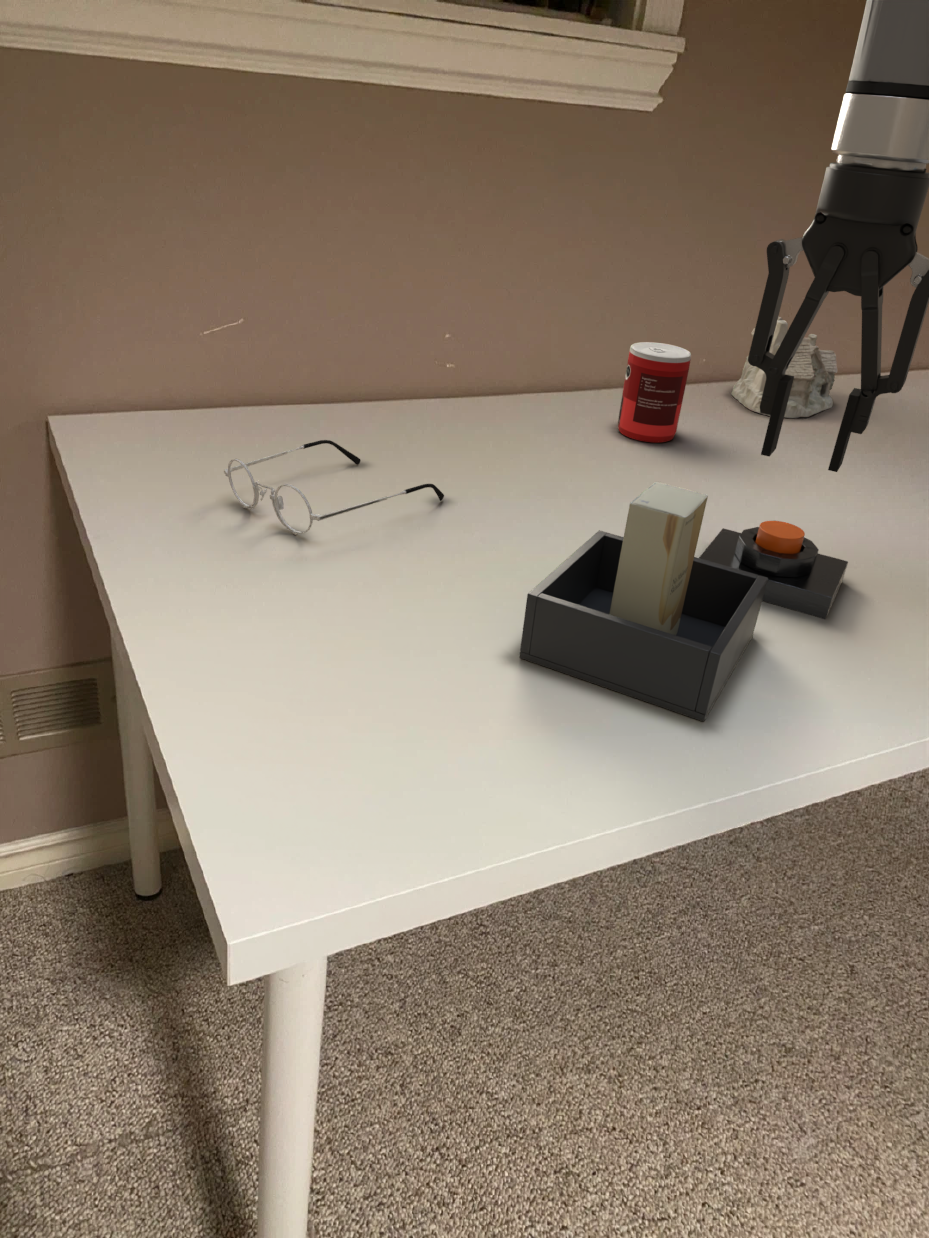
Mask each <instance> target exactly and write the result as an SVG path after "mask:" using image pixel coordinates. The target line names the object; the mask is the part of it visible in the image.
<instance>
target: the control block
mask: <svg viewBox="0 0 929 1238" xmlns="http://www.w3.org/2000/svg"><path fill="white" fill-rule="evenodd" d="M758 530H759V526H755V527H750V528H746V529H743V530H742V531H741V532H740V531H739V532H738V531H735V530H731V529H727V528H722V529H721V530H720V531H719V532H718V533H717V535H716V536H715V537H714V538H713V540H712V541H711V542H710V543H709V544H708V546H707V547H706V548H705V550H704V551H703V552H702V553H701V554H700V556H699V557H698V558H700V559H703V560H707V561H710V562H714V563H718V564H721V565H725V566H728V567H732V568H735V569H739V570H743V571H746V572H750V573H753V574H757V575H758V576H759V575H760V576H763V577H767V578H768V581H767V585H766V588H765V592H764V596H763V599H762V602H763V603H767V604H771V605H774V606H776V607H777V606H778V607H781V608H785V609H789V610H791V611H795V612H798V613H801V614H806V615H808V616H812V617H816V618H819V619H821V620H826V619H827V617H828V615H829V612H830V610H831V608H832V605H833V604H834V601H835V599H836V597H837V594H838V592H839V590H840V588H841V585H842V583H843V580H844V577H845V574H846V571H847V568H848V564H849V561H848V560H844V559H840V558H836V557H832V556H830V555H825V554H822V553H819V548H818V546H817V545H816V544H815V543H814V542H813V541H812V540H811V539H808V538H806V537H805V536H804V539H803V543H802V546H801V550H800V552H799V553H795V554H785V553H778V552H774V551H770V550H766V549H764V548H762V547H761V546H759V545H757V544H756V543H755V541H756V537H757V534H758Z"/></svg>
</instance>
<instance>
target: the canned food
mask: <svg viewBox="0 0 929 1238" xmlns="http://www.w3.org/2000/svg"><path fill="white" fill-rule="evenodd" d="M691 361H692V353H691V352H690V351H689V350H687V349H685V348H683V347H680V346H677V345H674V344H668V343H663V342H653V341H641V342H635V343H632V344H631V345H630V348H629V352H628V358H627V363H626V369H625V375H624V381H623V387H622V394H621V399H620V400H621V401H620V406H619V412H618V418H617V427H618V428H617V429H618V431H619V432H620V433H621V434H622V435H623V436H625V437H627V438H630V439H632V440H635V441H640V442H645V443H654V444H656V443H659V444H660V443H667V442H670V441H672V440H673V439H674V437H675V435H676V434H677V431H678V425H679V420H680V415H681V410H682V406H683V401H684V396H685V391H686V385H687V382H688V381H687V380H688V376H689V371H690V366H691Z"/></svg>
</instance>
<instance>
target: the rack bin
mask: <svg viewBox="0 0 929 1238" xmlns="http://www.w3.org/2000/svg"><path fill="white" fill-rule="evenodd" d="M623 538H624V536H621V535H617V534H615V533H611V532H608V531H603V530H600V529H599V530H598V531H596V532H595V533H594V534H593V535H592V536H591V537H590V538H588V539H587V540H586V541H585V542H584V543H583V544H582V545H581V546H579V547H578V548H577V549H576V550H575V551H574V552H573V553H572V554H570V555H569V556H568V557H567V558H566V559H565V560H563V562H561V563H560V564H559V565H558V566H557V567H556V568H555V569H553V570H552V571H551V572H550V573H549V574H548V575H547V576H545V578H544V579H542V580H541V581H540V582H539V583H538V584H536V586H535V587H534V588H532V589H531V590H530V591H529V592H528V593H527V595H526V603H525V611H524V617H523V618H524V619H523V626H522V633H521V641H520V649H519V659H522V660H525V661H528V662H531V663H534V664H537V665H539V666H542V667H545V668H548V669H550V670H554V671H556V672H559V673H562V674H565V675H568V676H570V677H574V678H575V679H576V678H577V679H579V680H582V681H585V682H589V683H591V684H594V685H597V686H599V687H603V688H605V689H608V690H611V691H614V692H616V693H620V694H622V695H625V696H628V697H631V698H634V699H636V700H639V701H643V702H646V703H648V704H651V705H654V706H656V707H660V708H663V709H666V710H668V711H672V712H673V713H674V712H675V713H677V714H680V715H682V716H686V717H688V718H691V719H695V720H697V721H700V722H703V723H704V722H705V720H706V719H707V718H708V715H709V713H710V712H711V710H712V708H713V707H714V705H715V703H716V701H717V700H718V698H719V696H720V694H722V691H723V690H724V687H725V686H726V684H727V682H728V680H729V679H730V677H731V675H732V674H733V672H734V670H735V668H736V666H737V665H738V663H739V662H740V660H741V658H742V656H743V654H744V653H745V651H746V649H747V647H748V646H749V644H750V642H751V640H752V639H753V637H754V632H755V628H756V625H757V621H758V618H759V614H760V611H761V607H762V602H763V601H762V599H763V596H764V592H765V588H766V585H767V581H768V578H767V577H763V576H760V575H759V576H758V575H757V574H753V573H750V572H746V571H743V570H739V569H735V568H732V567H728V566H725V565H721V564H718V563H714V562H710V561H707V560H703V559H700V558H699V557H696V556H694V560H693V564H692V569H691V573H690V578H689V582H688V587H687V591H686V595H685V600H684V605H683V609H682V614H681V618H680V623H679V627H678V632H677V634H676V635H673V634H670V633H667V632H663V631H660V630H657V629H654V628H651V627H648V626H644V625H641V624H638V623H635V622H632V621H629V620H625V619H622V618H619V617H616V616H613V615H610V608H611V603H612V597H613V592H614V587H615V581H616V576H617V571H618V565H619V559H620V554H621V549H622V543H623Z"/></svg>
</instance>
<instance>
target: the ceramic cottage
mask: <svg viewBox="0 0 929 1238" xmlns="http://www.w3.org/2000/svg"><path fill="white" fill-rule="evenodd" d="M788 326H789V323H788V321H786V320H785V319H783V317H782V316H778V320H777V324H776V328H775V332H774V336H773V340H772V344H771V348H770V353H772V354H773V355H775V354H776V352H777V350H778V348H779V346H780V344H781V342H782V341H783V339H784V337H785V335H786V333H787V331H788V329H789V327H788ZM754 331H755V327H753V329H752V331H751V332H750V337H751V339H752V340H753V335H754ZM817 339H818V335H817V334H814V333H810V334H808V335H807V337H804V338H803V340H802V342H801V344H800V346H799V347H798V349H797V351H796V353H795V355H794V357H793V359H792V360H791V362H790V364H789V366H788V369H787V370H786V372H785V375H791V376H794V380H793V384H792V388H791V392H790V395H789V399H788V403H787V407H786V411H785V415H784V419H785V418H786V419H787V418H788V419H798V418H809V417H811V416H813V415H816V414H818V413H821V412H822V411H827V410H829V409H832V408H833V405H834V404H833V402H834V400H833V398H832V396H831V395H830V391H832V390H833V387H834V383H835V379H836V377H835V376H836V374H837V373H838V362H837V354H836V352H835V351H834V350H831V349H830V350H829V349H826V350H825V349H820V346H819V345H816V344H817ZM752 340H751V341H752ZM748 356H749V354H748V355H747V356H746V357H745V362H744V364H743V368H742V371H741V376H740V378H739V379H738V380H737V382H736V383H735V384H734V386H733V388H732V391H731V396H732V397H734V399H735V400H737V401H738V402H739V403H740V404H742V406H744V407H745V408H747V409H748V410H750V411H752V412H755V413H758V414H761V415H764V416H768V417H770V415H768V414H763V413H760V403H761V399H762V395H763V390H764V386H765V382H766V374H765V373H764V371H762V370H761V369H759V368H758V367H756V366H752V365H750V364H749V362H748Z"/></svg>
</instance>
